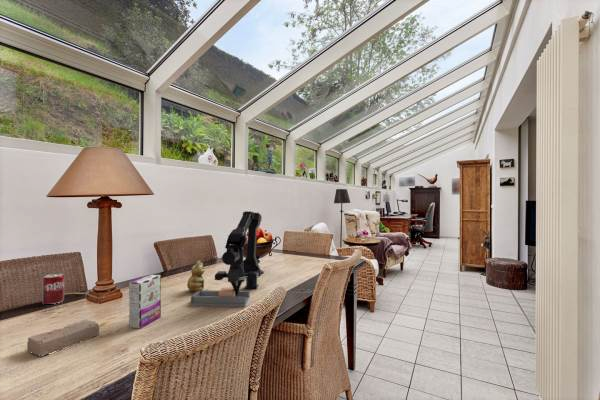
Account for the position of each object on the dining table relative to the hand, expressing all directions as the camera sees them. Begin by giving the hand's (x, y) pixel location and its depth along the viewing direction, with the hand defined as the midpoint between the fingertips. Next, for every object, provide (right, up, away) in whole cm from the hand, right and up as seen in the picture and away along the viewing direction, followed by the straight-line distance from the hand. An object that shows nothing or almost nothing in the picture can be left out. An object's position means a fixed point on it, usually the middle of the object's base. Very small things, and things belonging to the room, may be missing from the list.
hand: (236, 294), depth 130 cm
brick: (-46, -3, -39) cm, 60 cm away
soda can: (-80, -3, -4) cm, 80 cm away
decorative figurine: (-24, -3, +15) cm, 29 cm away
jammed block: (-4, -2, 0) cm, 5 cm away
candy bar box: (-29, -3, -23) cm, 37 cm away
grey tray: (-7, -3, 0) cm, 8 cm away
